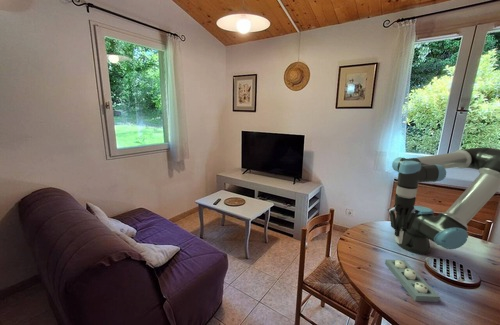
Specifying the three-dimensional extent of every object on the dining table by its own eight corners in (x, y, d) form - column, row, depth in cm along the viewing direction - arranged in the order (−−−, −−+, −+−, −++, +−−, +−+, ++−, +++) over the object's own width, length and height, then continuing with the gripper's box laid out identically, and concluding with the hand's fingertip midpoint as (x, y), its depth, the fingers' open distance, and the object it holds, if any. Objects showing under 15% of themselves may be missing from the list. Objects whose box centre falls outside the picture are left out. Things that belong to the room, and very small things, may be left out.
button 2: (411, 274, 100) (412, 268, 99) (417, 281, 96) (418, 275, 95) (401, 274, 100) (402, 268, 99) (407, 281, 96) (408, 274, 95)
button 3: (421, 288, 93) (423, 281, 93) (429, 296, 89) (430, 289, 89) (411, 288, 94) (412, 281, 93) (418, 296, 90) (419, 289, 89)
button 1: (401, 266, 107) (402, 260, 106) (406, 272, 103) (408, 266, 102) (392, 265, 107) (393, 259, 107) (397, 271, 103) (398, 265, 102)
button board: (403, 264, 109) (404, 260, 108) (438, 301, 88) (439, 296, 87) (384, 263, 109) (385, 259, 109) (415, 300, 88) (416, 295, 87)
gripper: (414, 192, 103) (406, 237, 109) (386, 192, 103) (379, 237, 109) (426, 198, 96) (417, 246, 101) (396, 198, 96) (389, 247, 101)
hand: (398, 242), depth 105 cm, fingers closed
